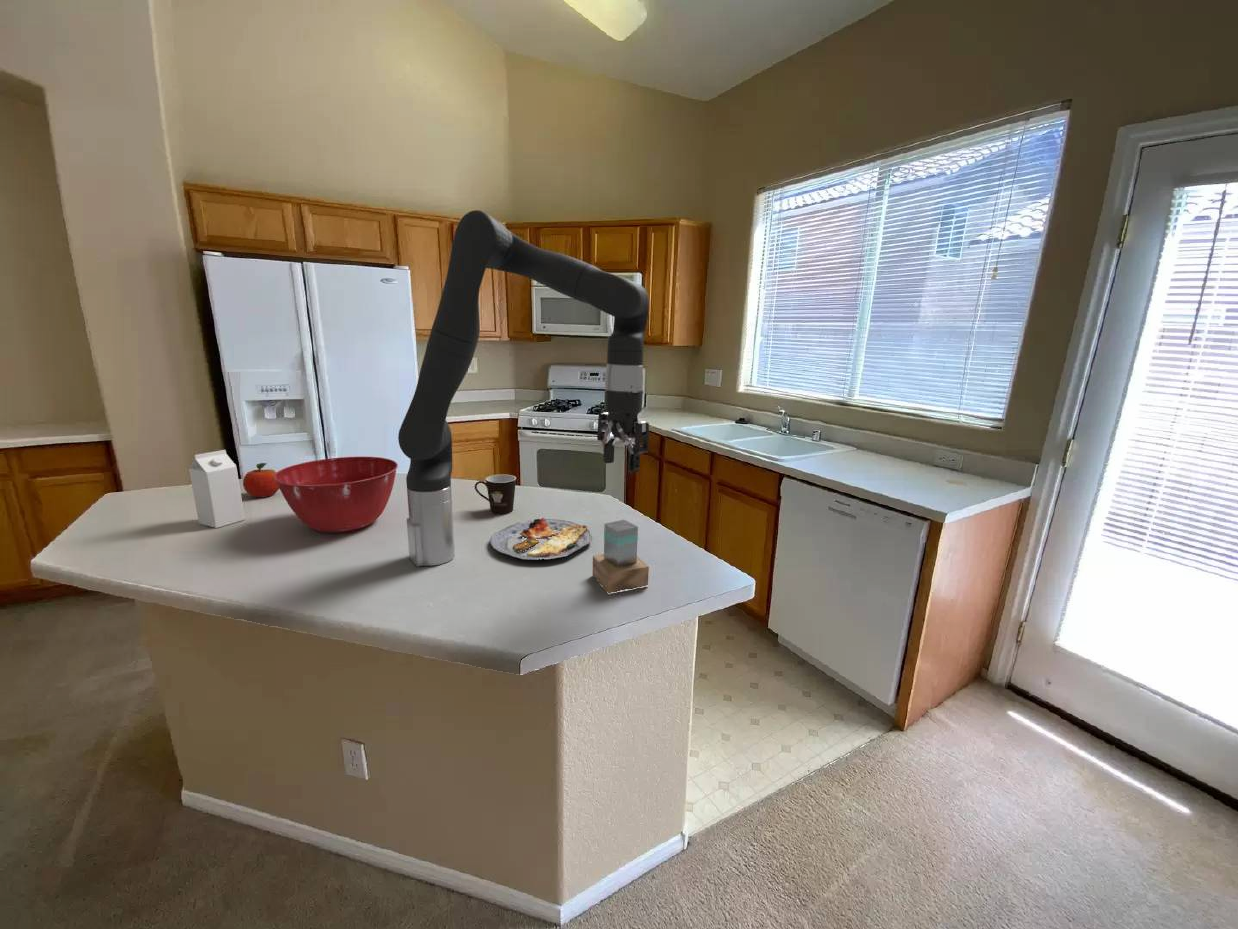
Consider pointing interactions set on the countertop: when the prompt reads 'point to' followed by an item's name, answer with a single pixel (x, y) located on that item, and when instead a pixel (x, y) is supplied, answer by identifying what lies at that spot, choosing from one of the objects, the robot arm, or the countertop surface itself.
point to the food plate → (542, 529)
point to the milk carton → (216, 489)
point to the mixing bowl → (338, 491)
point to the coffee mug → (500, 493)
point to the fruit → (260, 482)
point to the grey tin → (620, 543)
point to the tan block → (620, 574)
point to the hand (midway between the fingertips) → (620, 467)
